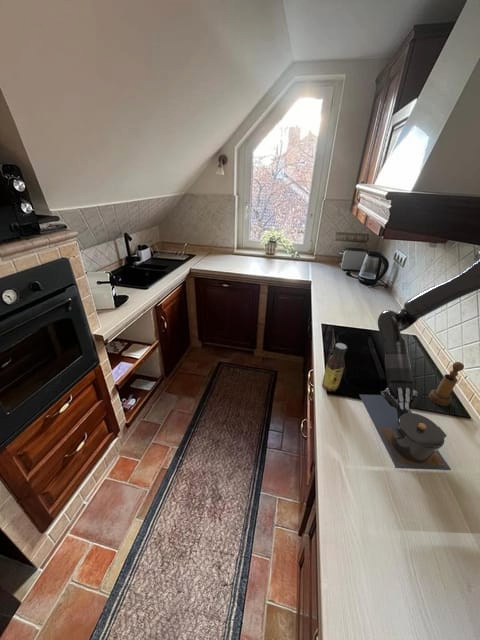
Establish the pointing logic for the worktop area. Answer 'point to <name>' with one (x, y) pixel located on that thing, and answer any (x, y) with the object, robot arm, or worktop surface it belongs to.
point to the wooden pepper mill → (446, 386)
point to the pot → (417, 437)
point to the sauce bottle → (334, 368)
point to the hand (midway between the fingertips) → (403, 421)
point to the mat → (384, 422)
